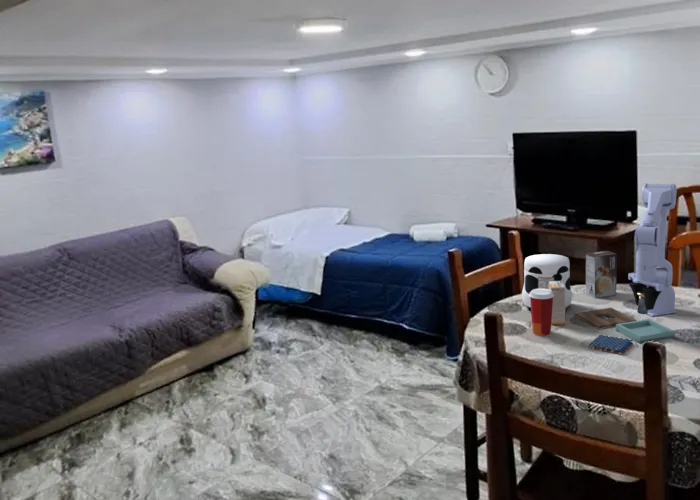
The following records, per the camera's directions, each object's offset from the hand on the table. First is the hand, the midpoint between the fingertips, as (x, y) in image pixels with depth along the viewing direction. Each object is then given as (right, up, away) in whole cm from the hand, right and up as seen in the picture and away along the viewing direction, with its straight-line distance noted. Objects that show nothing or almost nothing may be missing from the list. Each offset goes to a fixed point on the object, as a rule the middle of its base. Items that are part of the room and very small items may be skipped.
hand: (644, 307), depth 203 cm
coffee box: (+3, +1, +43) cm, 43 cm away
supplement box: (-21, -7, +19) cm, 29 cm away
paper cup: (-30, -9, +9) cm, 32 cm away
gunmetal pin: (0, -2, +1) cm, 2 cm away
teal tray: (+1, -9, +2) cm, 9 cm away
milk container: (-21, -3, +33) cm, 39 cm away
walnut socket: (-6, -6, +17) cm, 19 cm away
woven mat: (-13, -12, -5) cm, 18 cm away
